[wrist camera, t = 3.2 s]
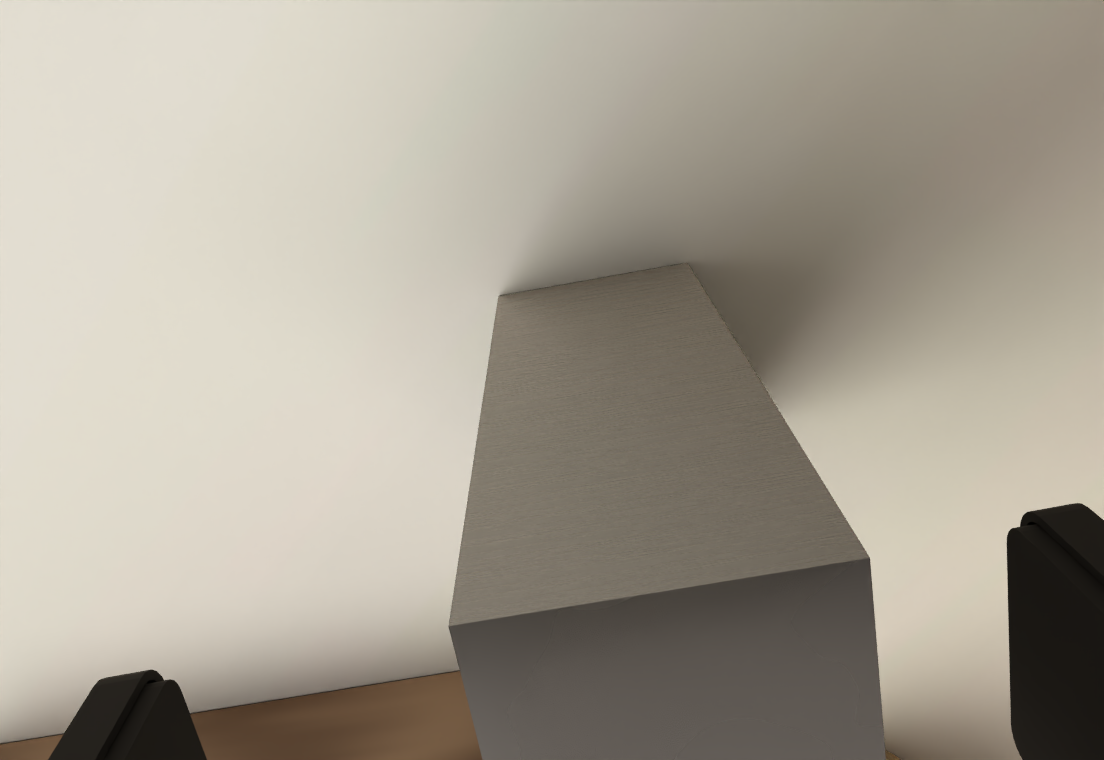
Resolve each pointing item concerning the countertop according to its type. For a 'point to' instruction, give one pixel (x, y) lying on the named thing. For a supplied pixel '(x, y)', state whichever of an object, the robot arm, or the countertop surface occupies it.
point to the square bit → (653, 546)
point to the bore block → (331, 726)
